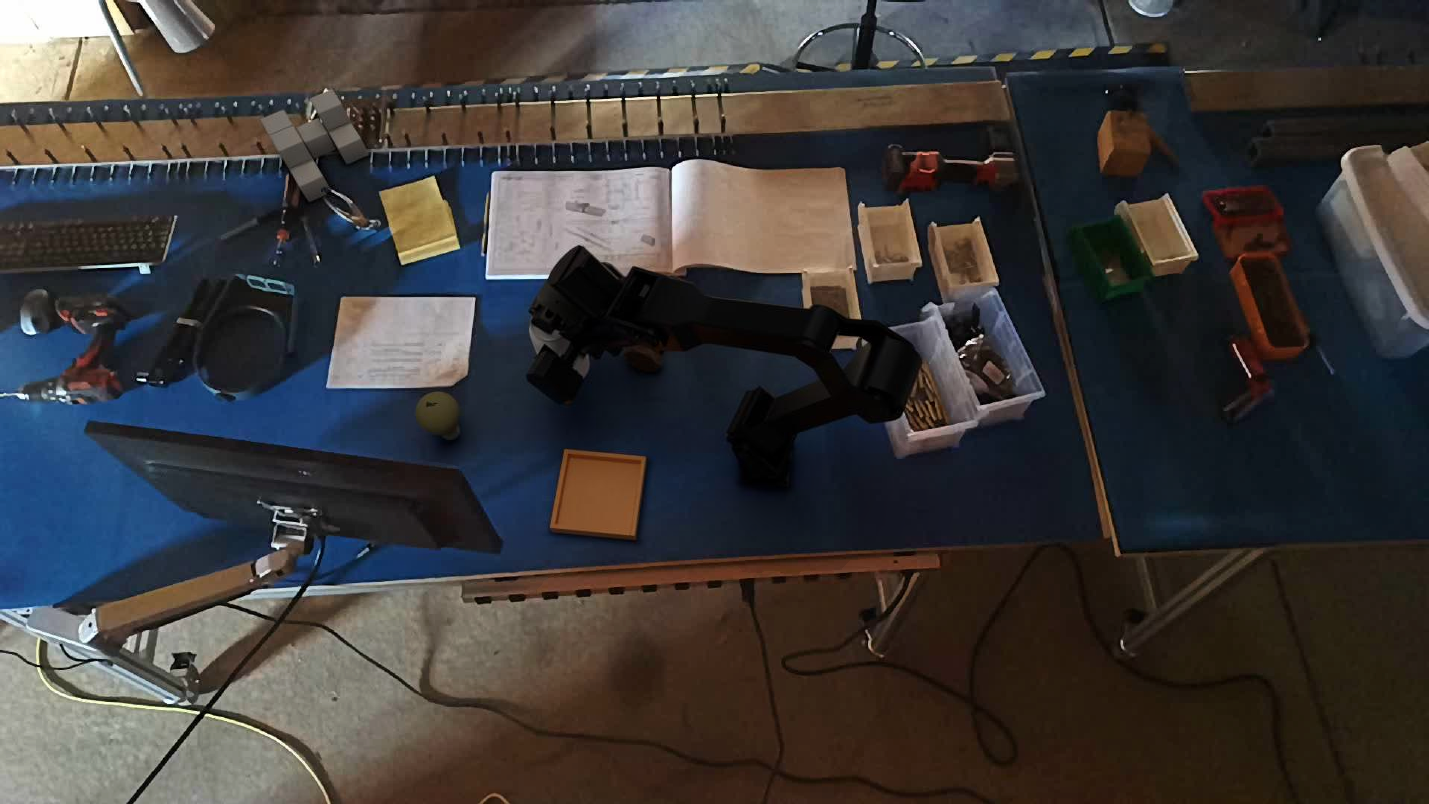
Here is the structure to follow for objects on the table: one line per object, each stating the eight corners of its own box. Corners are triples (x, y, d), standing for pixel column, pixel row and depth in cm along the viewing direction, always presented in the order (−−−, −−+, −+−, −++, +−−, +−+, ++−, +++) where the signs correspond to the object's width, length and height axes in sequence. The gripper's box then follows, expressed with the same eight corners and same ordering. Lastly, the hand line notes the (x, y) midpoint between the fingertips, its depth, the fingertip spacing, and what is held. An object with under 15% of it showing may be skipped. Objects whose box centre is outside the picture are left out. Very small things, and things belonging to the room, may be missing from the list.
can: (598, 357, 120) (586, 310, 109) (576, 394, 117) (561, 350, 106) (558, 340, 121) (542, 293, 110) (535, 377, 118) (516, 332, 108)
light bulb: (439, 459, 118) (417, 429, 109) (426, 426, 120) (403, 394, 111) (478, 442, 119) (459, 411, 110) (464, 410, 121) (444, 377, 112)
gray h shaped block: (309, 202, 137) (287, 168, 130) (282, 154, 141) (259, 118, 134) (379, 171, 140) (361, 136, 133) (350, 124, 144) (332, 88, 137)
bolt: (682, 296, 132) (647, 376, 125) (655, 279, 130) (618, 358, 123) (700, 282, 127) (664, 364, 120) (672, 264, 125) (634, 346, 119)
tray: (646, 462, 118) (646, 456, 116) (635, 540, 113) (634, 535, 111) (566, 454, 118) (564, 448, 116) (552, 532, 113) (549, 527, 112)
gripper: (603, 221, 101) (539, 246, 113) (524, 345, 94) (464, 358, 105) (667, 281, 107) (599, 299, 119) (597, 404, 99) (532, 410, 111)
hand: (550, 339), depth 113 cm, fingers closed on can, 6 cm apart
